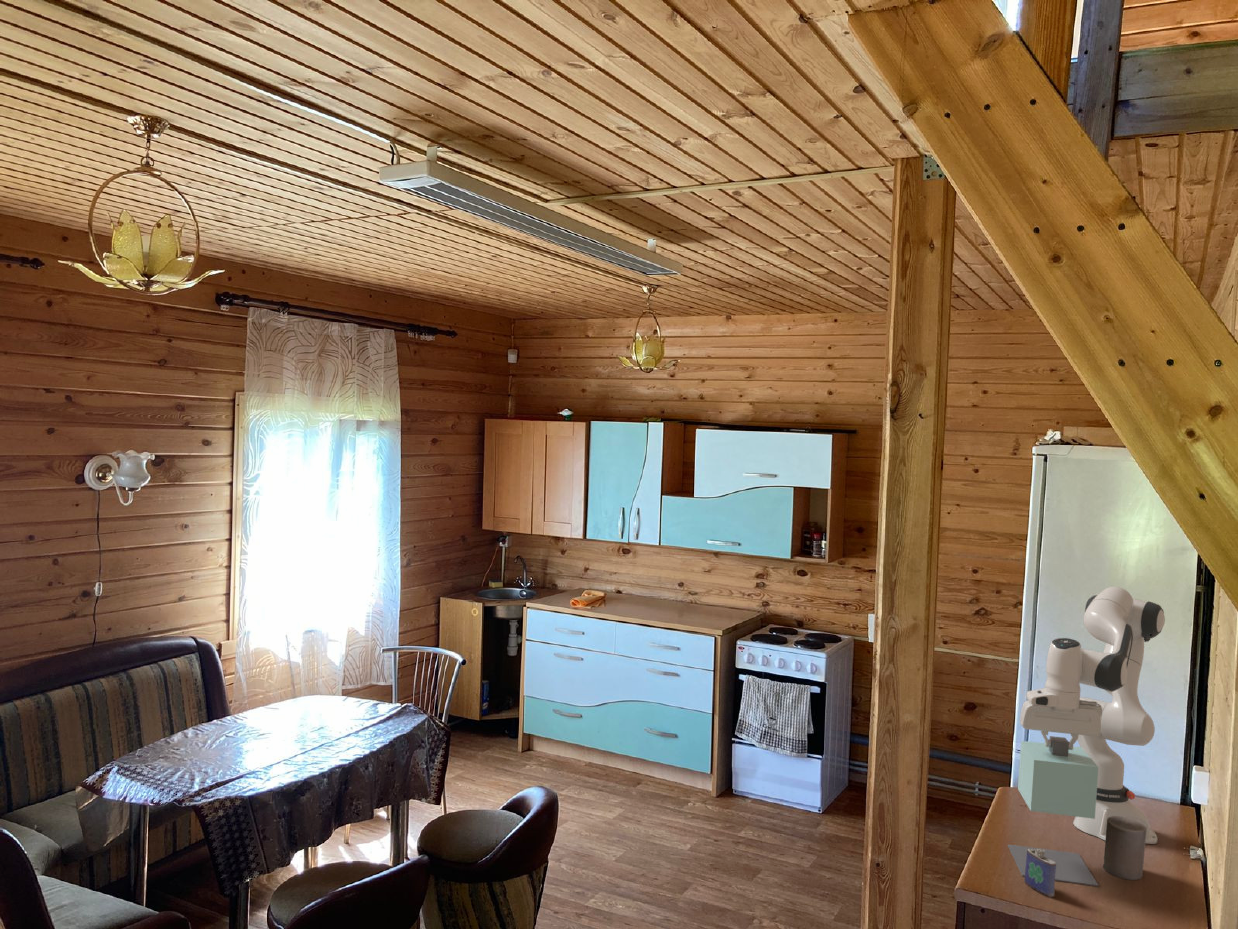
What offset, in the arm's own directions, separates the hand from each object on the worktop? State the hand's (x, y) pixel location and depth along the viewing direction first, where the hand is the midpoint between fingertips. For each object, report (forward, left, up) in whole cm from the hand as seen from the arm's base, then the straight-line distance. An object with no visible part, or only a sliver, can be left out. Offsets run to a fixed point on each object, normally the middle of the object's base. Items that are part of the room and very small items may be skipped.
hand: (1058, 748), depth 256 cm
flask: (+7, +15, -34) cm, 37 cm away
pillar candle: (-19, -2, -33) cm, 39 cm away
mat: (0, 0, -33) cm, 33 cm away
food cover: (0, 0, -15) cm, 15 cm away
